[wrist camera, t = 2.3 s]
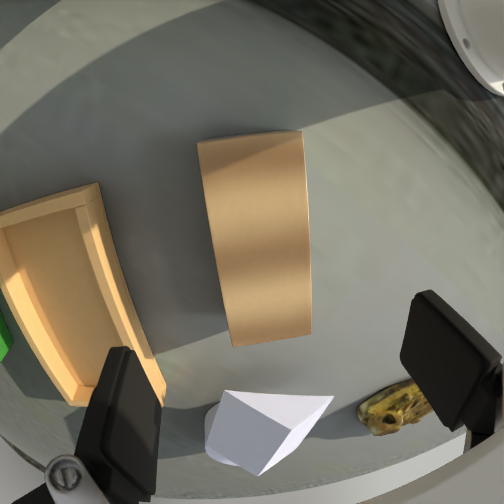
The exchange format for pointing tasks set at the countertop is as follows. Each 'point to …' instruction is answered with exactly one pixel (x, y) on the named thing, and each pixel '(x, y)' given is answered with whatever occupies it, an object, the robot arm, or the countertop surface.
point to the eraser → (260, 232)
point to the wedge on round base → (259, 427)
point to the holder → (70, 290)
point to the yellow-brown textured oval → (394, 408)
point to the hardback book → (4, 338)
